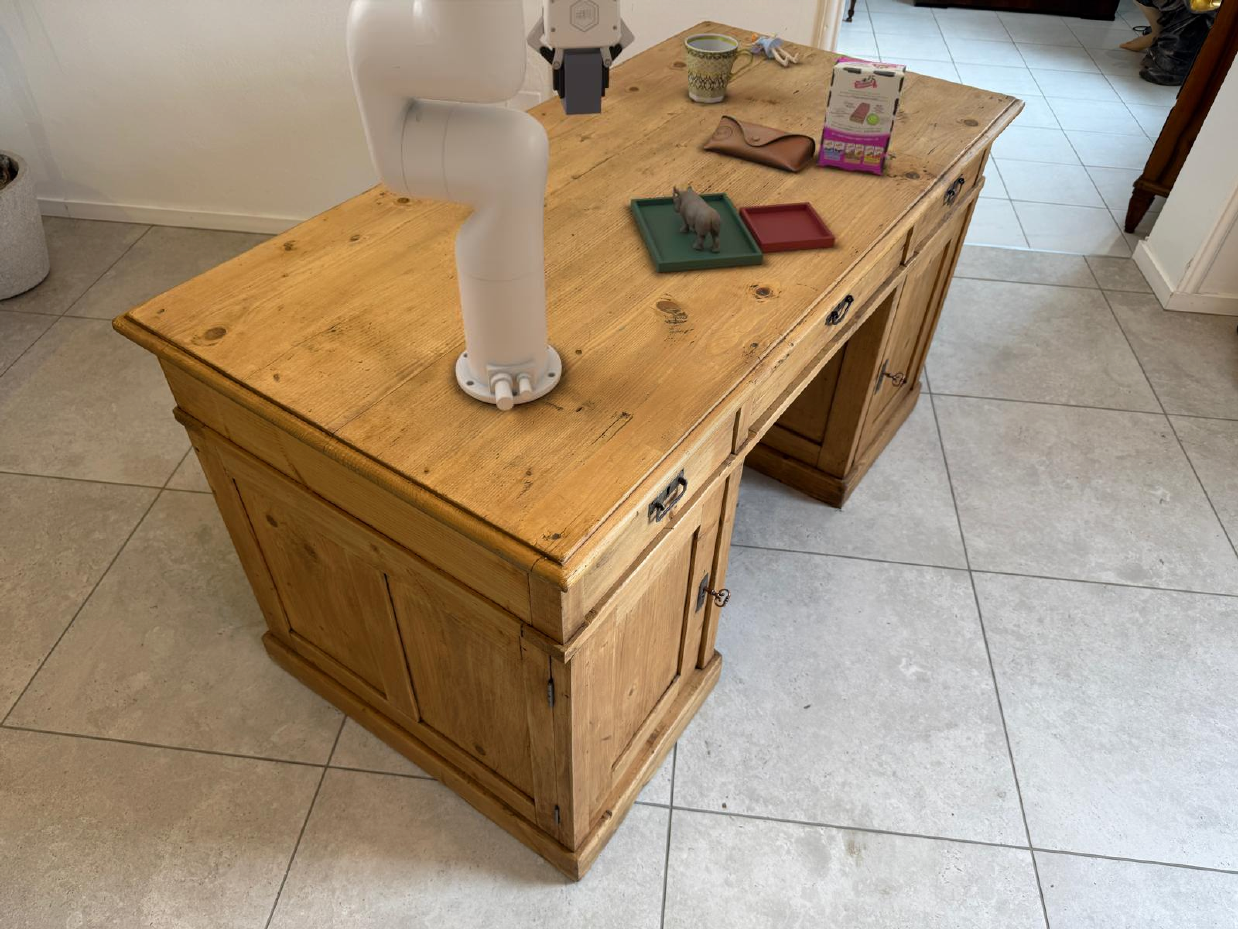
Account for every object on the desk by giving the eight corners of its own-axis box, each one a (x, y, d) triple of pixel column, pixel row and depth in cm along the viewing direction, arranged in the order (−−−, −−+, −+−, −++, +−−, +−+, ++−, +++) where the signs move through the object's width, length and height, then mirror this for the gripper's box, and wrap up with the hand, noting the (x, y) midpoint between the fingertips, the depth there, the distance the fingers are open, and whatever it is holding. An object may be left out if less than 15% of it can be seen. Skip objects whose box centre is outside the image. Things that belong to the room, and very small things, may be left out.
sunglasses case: (699, 147, 152) (711, 107, 150) (712, 155, 158) (723, 116, 156) (798, 172, 146) (811, 131, 144) (806, 179, 152) (819, 139, 150)
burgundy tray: (833, 246, 129) (835, 237, 128) (760, 252, 128) (762, 243, 127) (807, 210, 137) (808, 201, 136) (738, 215, 136) (739, 206, 135)
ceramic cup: (675, 102, 168) (679, 47, 161) (687, 83, 175) (692, 30, 168) (742, 111, 165) (749, 56, 158) (752, 92, 172) (759, 38, 165)
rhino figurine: (685, 208, 136) (688, 171, 132) (725, 251, 127) (730, 213, 122) (661, 212, 135) (663, 175, 130) (699, 256, 125) (703, 218, 121)
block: (601, 113, 124) (602, 53, 118) (566, 115, 123) (565, 55, 118) (594, 100, 127) (595, 41, 122) (560, 101, 127) (559, 43, 121)
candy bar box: (884, 164, 150) (908, 64, 139) (881, 176, 147) (906, 75, 135) (819, 154, 152) (837, 55, 141) (815, 166, 149) (833, 65, 138)
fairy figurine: (776, 53, 178) (735, 30, 184) (770, 76, 182) (730, 53, 187) (813, 42, 184) (772, 20, 189) (807, 65, 187) (767, 42, 193)
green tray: (761, 263, 125) (763, 254, 124) (658, 272, 123) (658, 263, 122) (724, 201, 139) (725, 192, 138) (630, 207, 137) (630, 198, 136)
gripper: (517, -43, 108) (524, 107, 120) (652, -46, 110) (645, 101, 123) (510, -58, 113) (517, 87, 125) (639, -60, 116) (634, 82, 128)
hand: (580, 92), depth 124 cm, fingers closed on block, 5 cm apart
